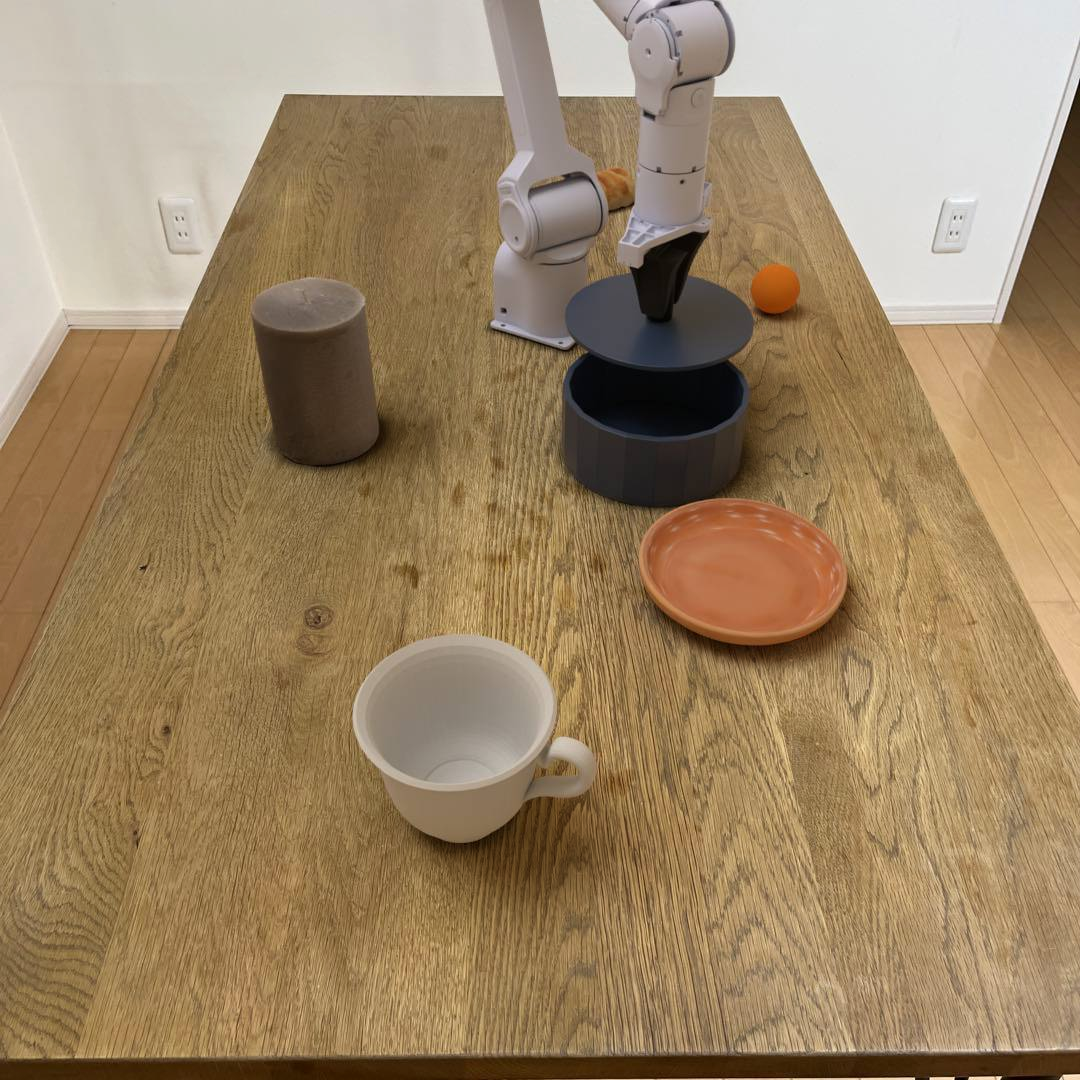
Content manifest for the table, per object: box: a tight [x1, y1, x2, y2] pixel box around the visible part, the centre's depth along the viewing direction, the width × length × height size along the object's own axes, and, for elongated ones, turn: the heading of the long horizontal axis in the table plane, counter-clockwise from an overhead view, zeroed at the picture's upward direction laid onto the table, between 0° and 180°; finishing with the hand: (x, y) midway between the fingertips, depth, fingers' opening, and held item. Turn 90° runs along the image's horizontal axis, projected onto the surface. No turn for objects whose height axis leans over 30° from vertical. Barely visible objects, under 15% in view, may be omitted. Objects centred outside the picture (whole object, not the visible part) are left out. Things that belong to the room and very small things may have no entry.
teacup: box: [352, 633, 598, 844], centre depth 68 cm, size 12×15×10 cm
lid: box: [565, 272, 755, 372], centre depth 100 cm, size 17×17×6 cm
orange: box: [750, 263, 801, 315], centre depth 119 cm, size 5×5×5 cm
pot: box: [560, 351, 751, 508], centre depth 99 cm, size 16×16×7 cm
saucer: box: [638, 497, 848, 646], centre depth 86 cm, size 16×16×3 cm
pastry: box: [595, 165, 636, 211], centre depth 140 cm, size 9×7×4 cm
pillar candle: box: [250, 276, 380, 466], centre depth 98 cm, size 10×10×15 cm
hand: (659, 307), depth 100 cm, fingers closed on lid, 2 cm apart
